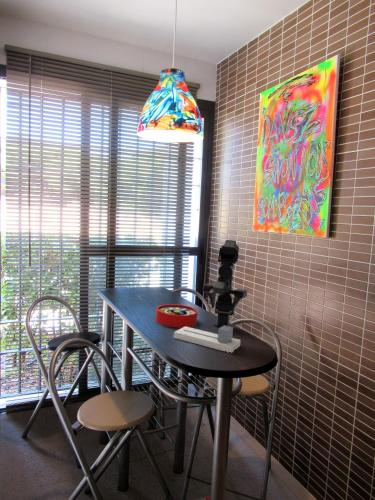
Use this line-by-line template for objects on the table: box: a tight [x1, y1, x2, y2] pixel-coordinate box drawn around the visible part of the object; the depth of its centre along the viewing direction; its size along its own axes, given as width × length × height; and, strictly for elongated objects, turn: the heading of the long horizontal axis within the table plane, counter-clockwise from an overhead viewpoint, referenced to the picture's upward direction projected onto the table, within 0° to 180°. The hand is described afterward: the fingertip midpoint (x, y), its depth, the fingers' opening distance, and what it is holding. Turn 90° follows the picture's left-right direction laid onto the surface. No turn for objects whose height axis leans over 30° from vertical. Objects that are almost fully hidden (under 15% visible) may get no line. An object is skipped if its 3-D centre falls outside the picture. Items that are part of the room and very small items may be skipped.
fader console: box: [173, 326, 241, 354], centre depth 151 cm, size 10×26×3 cm, turn 62°
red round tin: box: [155, 303, 198, 329], centre depth 177 cm, size 20×6×20 cm
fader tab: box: [217, 325, 234, 343], centre depth 147 cm, size 6×4×5 cm, turn 152°
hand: (222, 310), depth 158 cm, fingers open, 9 cm apart
